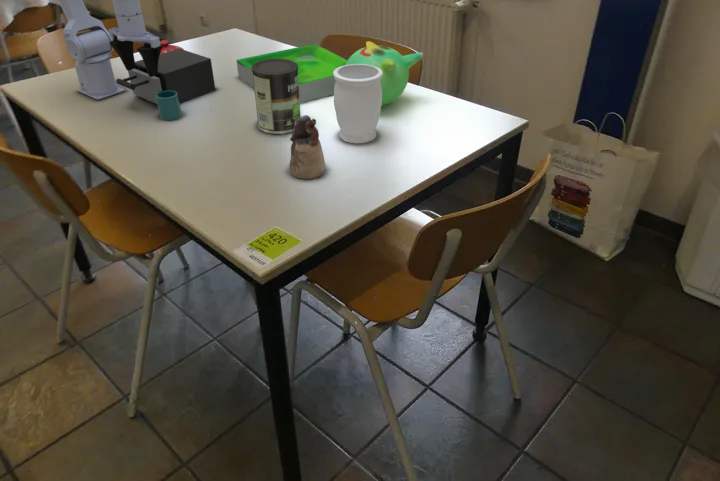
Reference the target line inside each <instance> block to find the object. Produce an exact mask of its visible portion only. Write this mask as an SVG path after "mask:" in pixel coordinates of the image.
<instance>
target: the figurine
mask: <svg viewBox="0 0 720 481" xmlns="http://www.w3.org/2000/svg"><path fill="white" fill-rule="evenodd" d="M300 116H301V117H300V118H298V119H297V120H296V121H295V125H294V128H293V132H292V135H291V137H290V138H289V140H290V142H292V143H291V145H290V160H289V173H290V175H291V176H293V177H295V178H298V179H302V180H311V179H315V178H318V177H320V176H322V175H323V174H324V173H325V170H326V162H325V156H324V151H323V148H322V144H321V141H320V139H319V137H320V134H319V133H320V132H319V129H318V128H317V126H316V124H317V119H316V118H311V116H310V115H307V114H305V115H300Z"/></svg>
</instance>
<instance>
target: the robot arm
mask: <svg viewBox="0 0 720 481" xmlns="http://www.w3.org/2000/svg"><path fill="white" fill-rule="evenodd" d="M57 1H58V3H59V5H60V7H61V9H62V11H63V13H64V15H65V18H66V19H67V23H66V25H65V27H64V29H63V31H62V34H61V35H62V36H63V39H64V41H65V46H66V47H65V48H66V49H67V52H68V54H69V56H70V57H71V58H72V59H73V60H75V62H74V68H75V72H76V75H77V79H78V83H79V86H80V88H79V89H78V90H77V91H78V92H79V93H81V94H83V95H85V96H88V97H90V98H92V99H95V100H97V101H100V100H102V99H105V98H109V97H111V96H115V95H118V94H120V93H123V92H125V89H124V88H123V87H120V86H118V84H117V83H116V77H115V73H114V71H113V67H112V62H111V57H113V55H112V52H113V51H115V52H116V54H117V55H118V57H119V58H120V60H121V62H122V64H123V66H124V68H125V70H126V71H127V72H128V71H130V70H132V69H135V62H136V61H135V54H134V43H137V44H141V45H143V46H140V47H137V48H136V50H137V52H138V53H139V56H140V57H141V58H142V60H143V61H144V63H145V66H146V70H147V73H148V75H149V77H153V76H155V75H157V74H158V60H159V56H160V52H161V50H162V45H161V44H160V41H161V40H160V37H159V36H156V35H154V34H152V33H151V32H149V31H147V29H146V25H145V20H144V15H143V14H144V13H143V11H142V10H143V9H142V5H141V0H111V2H112V7H113V11H114V15H115V19H116V23H117V27H112V28H108V29H107V28H106V26H105V25H104V23H103V21H102V20H101V19H98V18H96V17H94V16H92V15H90V13H89V11H88V9H87V6H86V5H85V3H84V1H83V0H57Z"/></svg>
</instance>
